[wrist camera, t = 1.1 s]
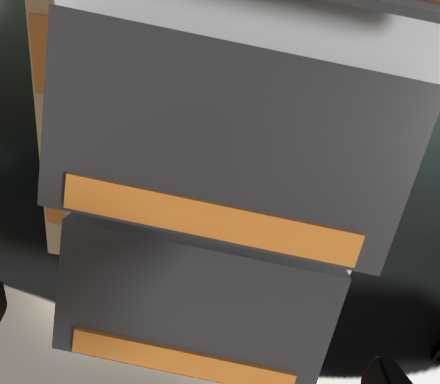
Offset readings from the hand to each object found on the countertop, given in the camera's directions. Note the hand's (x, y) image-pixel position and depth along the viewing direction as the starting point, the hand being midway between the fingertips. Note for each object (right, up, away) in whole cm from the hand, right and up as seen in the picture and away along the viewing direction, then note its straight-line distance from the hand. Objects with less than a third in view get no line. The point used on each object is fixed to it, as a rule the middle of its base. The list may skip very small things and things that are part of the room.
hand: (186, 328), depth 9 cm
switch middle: (+1, +5, +4) cm, 6 cm away
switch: (0, -2, +8) cm, 8 cm away
